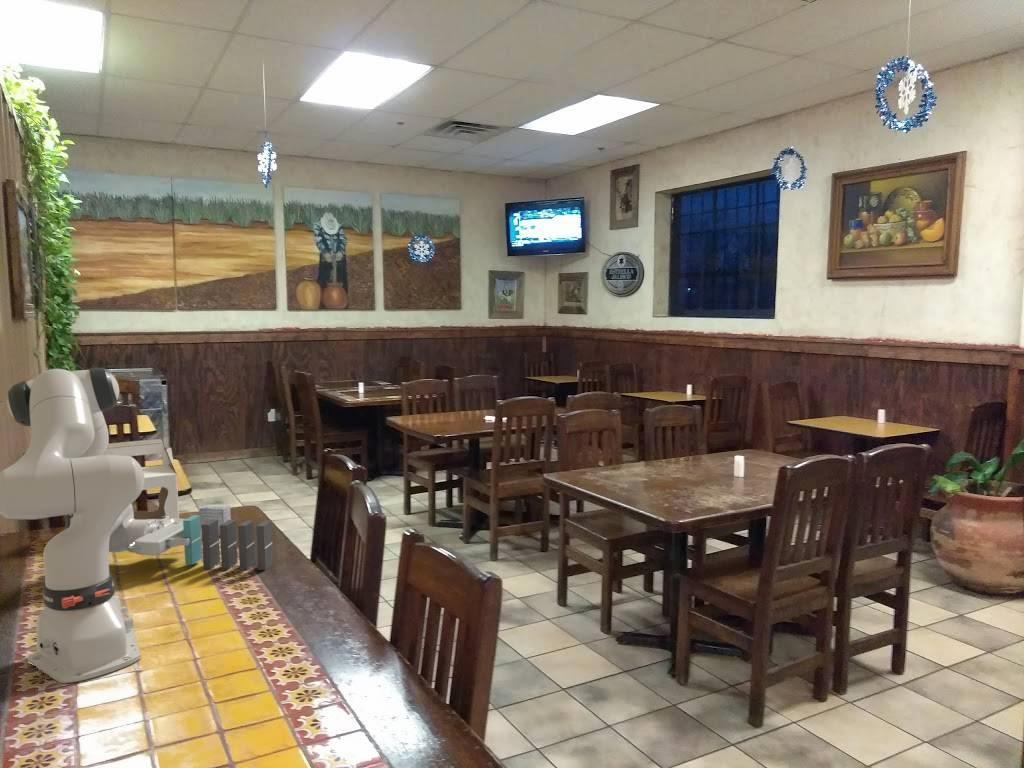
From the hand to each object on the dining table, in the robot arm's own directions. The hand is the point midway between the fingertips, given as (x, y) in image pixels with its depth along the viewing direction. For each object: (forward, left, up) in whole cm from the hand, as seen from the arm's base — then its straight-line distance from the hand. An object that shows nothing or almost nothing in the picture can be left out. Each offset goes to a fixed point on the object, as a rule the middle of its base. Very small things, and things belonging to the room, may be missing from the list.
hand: (195, 537), depth 192 cm
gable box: (+46, 0, -8) cm, 47 cm away
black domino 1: (-3, -3, -8) cm, 9 cm away
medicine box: (+23, -15, -8) cm, 29 cm away
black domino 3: (-11, -9, -8) cm, 16 cm away
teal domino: (+1, +1, -7) cm, 7 cm away
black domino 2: (-7, -6, -8) cm, 12 cm away
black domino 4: (-15, -12, -8) cm, 21 cm away
